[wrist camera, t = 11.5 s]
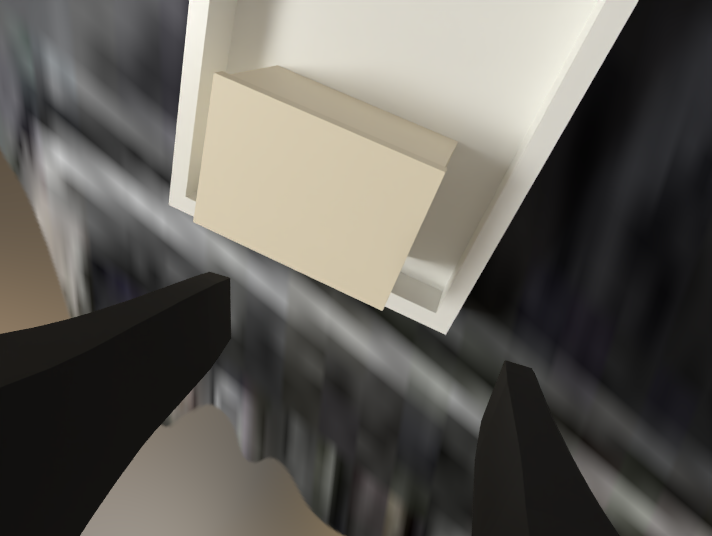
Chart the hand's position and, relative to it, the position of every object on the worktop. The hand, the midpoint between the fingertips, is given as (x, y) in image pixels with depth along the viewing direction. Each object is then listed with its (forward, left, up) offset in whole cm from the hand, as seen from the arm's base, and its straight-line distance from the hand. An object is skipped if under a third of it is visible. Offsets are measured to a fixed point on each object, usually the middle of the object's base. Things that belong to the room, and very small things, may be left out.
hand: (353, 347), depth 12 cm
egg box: (+4, 0, -10) cm, 10 cm away
